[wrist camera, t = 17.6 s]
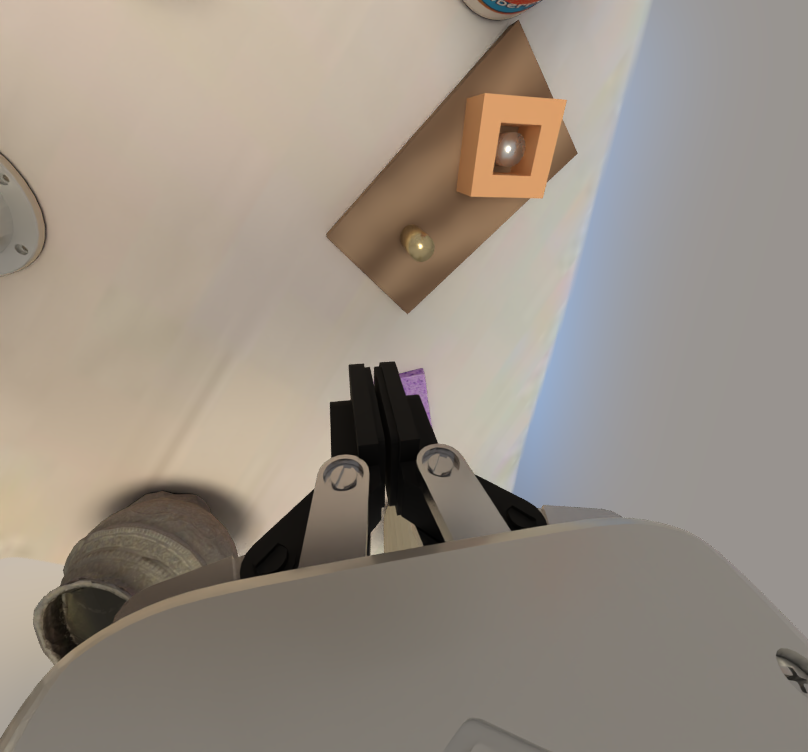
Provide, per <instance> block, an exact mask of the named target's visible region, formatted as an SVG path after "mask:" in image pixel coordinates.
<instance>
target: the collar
mask: <svg viewBox="0 0 808 752" xmlns="http://www.w3.org/2000/svg"><path fill="white" fill-rule="evenodd" d="M566 101H567V100H562V99H550V98H538V97H526V96H514V95H502V94H490V93H484V94H480V95H477V96H473V97H470V98H467V101H466V110H465V119H464V127H463V136H462V145H461V154H460V162H459V171H458V180H457V189H456V191H457V192H460V193H462V194H465V195H468V196H470V197H507V198H543V195H544V191H545V187H546V183H547V179H548V175H549V171H550V167H551V163H552V158H553V154H554V150H555V146H556V142H557V138H558V134H559V130H560V126H561V122H562V118H563V114H564V110H565V106H566ZM500 126H514V127H519V129H518V133H520V134H521V135H522V136H523V138H524V140H525V153H524V155H523V157H522V159H521V160H520V162H519V163H518V164H516V165H515V166H512V167H511V171H510V173H503V172H493V168H494V162H495V156H496V150H497V144H498V138H499V132H500Z"/></svg>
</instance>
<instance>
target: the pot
mask: <svg viewBox="0 0 808 752" xmlns="http://www.w3.org/2000/svg"><path fill="white" fill-rule="evenodd" d="M229 556H233V558H234V559H235V558H238V555H237V550H236V547H235V544H234V542H233V540H232V538H231V537H230V535H229V533H228V531H227V530H226V528H225V527H224V526H223V525H222V524H221V523H220V522H219V521H218V520H217V519H216V518H215V517H214V516H213V515H212V514H211V513H210V508H209V506H208V505H207V503H206V502H205V501H204V500H202V499H201V498H200V497H199V496H198V495H192V494H172V493H169V492H165V491H160V492H156V493H151V494H146V495H144V496H143V497H141V498H140V499H139V500H137V501H136V502H134V503H133V504H131V505H130V506H129V507H127V508H125V509H123V510H121V511H119V512H117V513H115V514H113V515H111V516H110V517H108V518H107V519H105V520H104V521H103V522H101V523H100V524H99V525H98V526H97V527H95V528H94V529H93V530H92V531H91V532H90V533H89V534H88V535H87V536H86V537H85V538H83V539H81V540H80V541H79V542H78V543H77V544H76V545H75V546H74V547H73V549H72V551H71V553H70V554H69V556H68V558H67V560H66V563H65V566H64V569H63V571H64V577H63V579H62V581H61V585H60V586H59V587H58V588H56V589H54V590H52V591H50V592H49V593H48V594H47V595H46V596H44V597H43V599H42V600H41V601H40V602H39V603H38V605H37V607H36V608H35V610H34V618H33V625H34V629H35V632H36V635H37V638H38V641H39V644H40V646H41V648H42V650H43V652H44V653H45V654H46V656H47V657H48V658H49V659H50V660H51V661H52V663H53V664H54V665H55V664H57V663H58V662H59V661H60V660H61V659H62V658H63V657H64V656H65V655H67V654H68V653H69V652H70V651H72V650H73V649H74V648H76V647H77V646H78V645H80V644H81V643H83V642H84V641H86V640H87V639H89V638H90V637H92V636H93V635H95V634H96V633H98V632H99V631H101V630H103V629H104V628H106V627H108V626H110V625H111V624H112V623H113V620H114V618H115V615H116V614H117V613H118V611H119V610H120V609H121V607H122V606H123V605H124V603H125V602H126V601H128V600H129V599H130V598H131V597H132V596H133V595H135V594H136V593H138V592H139V591H141V590H143V589H145V588H147V587H149V586H152V585H154V584H157V583H160V582H162V581H165V580H168V579H171V578H173V577H176V576H179V575H181V574H184V573H187V572H189V571H192V570H195V569H197V568H200V567H203V566H205V565H208V564H211V563H213V562H216V561H219V560H221V559H224V558H227V557H229Z"/></svg>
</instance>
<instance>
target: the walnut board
mask: <svg viewBox="0 0 808 752" xmlns="http://www.w3.org/2000/svg"><path fill="white" fill-rule="evenodd" d="M484 93H490V94H502V95H514V96H526V97H538V98H550V99H553V97H552V94H551V92H550V90H549V88H548V85H547V83H546V81H545V78H544V76H543V74H542V72H541V69H540V67H539V65H538V63H537V60H536V58H535V56H534V54H533V51H532V49H531V47H530V45H529V42H528V40H527V38H526V35H525V33H524V31H523V29H522V26H521V24H520V22H519V20H518V21H516V22H515V23H513V24H511V25H510V26H509V27H508V28H507V29H506V30H505V32H504V33H503V34H502V35H501V36H500V37H499V38H498V40H497V41H496V42H495V43H494V44H493V45H492V46H491V48H490V49H489V50H488V51H487V52H486V53H485V54H484V55H483V57H482V58H481V59H480V60H479V61H478V62H477V63H476V65H475V66H474V67H473V68H472V69H471V70H470V71H469V73H468V74H467V75H466V76H465V77H464V78H463V79H462V81H461V82H460V83H459V84H458V85H457V86H456V87H455V88H454V90H453V91H452V92H451V93H450V94H449V95H448V96H447V98H446V99H445V100H444V101H443V102H442V103H441V104H440V106H439V107H438V108H437V109H436V110H435V111H434V112H433V113H432V115H431V116H430V117H429V118H428V119H427V120H426V121H425V123H424V124H423V125H422V126H421V127H420V128H419V129H418V131H417V132H416V133H415V134H414V135H413V136H412V137H411V139H410V140H409V141H408V142H407V143H406V144H405V145H404V146H403V148H402V149H401V150H400V151H399V152H398V153H397V154H396V156H395V157H394V158H393V159H392V160H391V161H390V162H389V164H388V165H387V166H386V167H385V168H384V169H383V170H382V171H381V173H380V174H379V175H378V176H377V177H376V178H375V179H374V181H373V182H372V183H371V184H370V185H369V186H368V187H367V189H366V190H365V191H364V192H363V193H362V194H361V195H360V196H359V198H358V199H357V200H356V201H355V202H354V203H353V204H352V206H351V207H350V208H349V209H348V210H347V211H346V212H345V214H344V215H343V216H342V217H341V218H340V219H339V220H338V222H337V223H336V224H335V225H334V226H333V227H332V228H331V229H330V231H329V232H328V233H327V238H328V239H329V240H330V241H331V242H332V243H333V244H334V245H335V246H336V247H337V248H339V249H340V250H341V251H342V252H343V253H344V254H345V255H346V256H347V257H348V258H349V259H350V260H351V261H352V262H353V263H354V264H355V265H356V266H357V267H359V268H360V269H361V270H362V271H363V272H364V273H365V274H366V275H367V276H368V277H369V278H370V279H371V280H372V281H373V282H374V283H375V284H376V285H377V286H378V287H380V288H381V289H382V290H383V291H384V292H385V293H386V294H387V295H388V296H389V297H390V298H391V299H392V300H393V301H394V302H395V303H396V304H397V305H398V306H399V307H401V308H402V309H403V310H404V311H405V312H406V313H407V314H408V313H409V312H410V311H411V310H412V309H413V308H415V307H416V306H417V305H418V304H419V303H420V302H421V301H422V300H423V299H424V298H425V297H426V296H427V295H428V294H429V293H430V292H431V291H433V290H434V289H435V288H436V287H437V286H438V285H439V284H440V283H441V282H442V281H443V280H444V279H445V278H446V277H447V276H448V275H449V274H451V273H452V272H453V271H454V270H455V269H456V268H457V267H458V266H459V265H460V264H461V263H462V262H463V261H464V260H465V259H466V258H467V257H469V256H470V255H471V254H472V253H473V252H474V251H475V250H476V249H477V248H478V247H479V246H480V245H481V244H482V243H483V242H484V241H485V240H486V239H488V238H489V237H490V236H491V235H492V234H493V233H494V232H495V231H496V230H497V229H498V228H499V227H500V226H501V225H502V224H503V223H504V222H506V221H507V220H508V219H509V218H510V217H511V216H512V215H513V214H514V213H515V212H516V211H517V210H518V209H519V208H520V207H521V206H522V205H524V204H525V203H526V202H527V201H528V200H529V199H530V198H507V197H470V196H468V195H465V194H462V193H460V192H457V191H456V189H457V180H458V171H459V162H460V154H461V145H462V136H463V127H464V119H465V110H466V101H467V98H470V97H473V96H477V95H480V94H484ZM518 129H519V127H514V126H500V132H499V133H504V132H517V133H518ZM576 154H577V151H576V149H575V146H574V144H573V142H572V140H571V137H570V135H569V133H568V131H567V128H566V126H565V124H564V121H563V119H562V122H561V126H560V130H559V134H558V138H557V142H556V146H555V150H554V154H553V158H552V163H551V167H550V171H549V175H548V179H547V182H548V181H549V180H550V179H551V178H552V177H553V176H554V175H555V174H556V173H557V172H558V171H559V170H561V169H562V168H563V167H564V166H565V165H566V164H567V163H568V162H569V161H570V160H571V159H572V158H573V157H574V156H575V155H576ZM510 171H511V167H505V166H498V165H494V168H493V172H503V173H510ZM408 225H416V226H418V227H419V228H420V229H422V230H423V231H424V232H425V233H426V234H427V235H428V236H429V237H430V238H431V239H432V240H433V242H434V246H435V249H434V253H433V255H432V256H431V257H430V258H429V259H428V260H426V261H424V262H418V261H415V260H414V259H413V258H412V257H411V256H410V254H409V253H408V252H407V251H406V249H405V248H404V247H403V245H402V244H401V241H400V234H401V231H402V230H403V229H404V228H405V227H406V226H408Z"/></svg>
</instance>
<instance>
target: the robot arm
mask: <svg viewBox="0 0 808 752" xmlns="http://www.w3.org/2000/svg"><path fill="white" fill-rule="evenodd" d="M44 240H45V225H44V221H43V217H42V212H41V210H40V208H39V205H38V203H37V201H36V198H35V196H34V195H33V193H32V191H31V190H30V188H29V187H28V185H27V184H26V182H25V181H24V179H23V178H22V177H21V176H20V174H19V173H18V172H17V171H16V170H15V168H14V167H13V166H12V165H11V164H10V162H9V161H7V160H6V159H5V158H4V157H3V156H2V155H1V154H0V277H1V276H4V275H8V274H11V273H14V272H17V271H19V270H21V269H23V268H25V267H27V266H28V265H29V264H31V263H32V262H33V261H35V259H36V258H37V257H38V255H39V254H40V252H41V250H42V247H43V244H44ZM349 379H350V396H351V400H348V401H337V402H330V423H331V458H330V459H329V460H328V461H326V462H325V463H324V464H323V465H322V466H321V467H320V469H319V472H318V474H317V479H316V484H315V489H314V490H312V491H311V492H310V493H309V494H308V495H307V496H306V497H305V498H304V499H303V500H302V501H301V502H299V503H298V504H297V505H296V506H295V507H294V508H293V509H292V510H291V511H290V512H289V513H288V514H286V515H285V516H284V517H283V518H282V519H281V520H280V521H279V522H278V523H277V524H276V525H275V526H274V527H272V528H271V529H270V530H269V531H268V532H267V533H266V534H265V535H264V536H263V537H262V538H261V539H259V540H258V541H257V542H256V543H255V544H254V545H253V546H252V547H251V548H250V550H249V551H248V552H247V553H246V555H243V556H240V557H238V558H235V559H234V558H233V556H229V557H227V558H224V559H221V560H219V561H216V562H213V563H211V564H208V565H205V566H203V567H200V568H197V569H195V570H192V571H189V572H187V573H184V574H181V575H179V576H176V577H173V578H171V579H168V580H165V581H162V582H160V583H157V584H154V585H152V586H149V587H147V588H145V589H143V590H141V591H139V592H138V593H136V594H135V595H133V596H132V597H131V598H130V599H129V600H128V601H126V602H125V603H124V605H123V606H122V607H121V609H120V610H119V611H118V613H117V614H116V615H115V618H114V620H113V623H112V624H111V625H110V626H108V627H106V628H104V629H103V630H101V631H99V632H98V633H96V634H95V635H93V636H92V637H90V638H89V639H87V640H86V641H84V642H83V643H81V644H80V645H78V646H77V647H76V648H74V649H73V650H72V651H70V652H69V653H68V654H67V655H65V656H64V657H63V658H62V659H61V660H60V661H59V662H58V663H57V664H55V665H54V666H53V667H52V669H51V670H50V671H49V672H48V673H47V674H46V675H45V676H44V677H43V679H42V680H41V681H40V682H39V683H38V684H37V686H36V687H35V688H34V690H33V691H32V692H31V694H30V695H29V696H28V698H27V699H26V700H25V702H24V703H23V704H22V706H21V707H20V709H19V710H18V712H17V713H16V715H15V716H14V718H13V719H12V721H11V722H10V724H9V725H8V727H7V728H6V730H5V732H4V733H3V735H2V737H1V738H0V752H808V639H807V638H806V637H805V636H804V635H803V634H802V633H801V632H800V631H799V630H798V629H797V628H796V627H795V626H794V625H793V623H792V622H790V620H789V619H788V618H787V617H786V616H785V615H784V614H783V613H782V612H781V611H780V610H779V609H778V608H777V607H776V606H775V605H774V604H773V603H772V602H771V601H770V600H769V599H768V598H767V597H766V596H765V595H764V594H763V593H762V592H761V591H760V590H759V589H758V588H757V587H756V586H755V585H754V584H753V583H752V582H751V581H750V580H749V579H748V578H747V577H746V576H745V575H744V574H742V573H741V572H740V571H739V570H738V569H737V568H736V567H735V566H734V565H733V564H731V562H730V561H728V560H727V559H726V558H725V557H724V556H723V555H722V554H720V553H719V552H718V551H717V550H716V549H714V548H713V547H712V546H711V545H709V544H708V543H706V542H705V541H703V540H702V539H701V538H699V537H697V536H695V535H694V534H692V533H690V532H688V531H685V530H683V529H680V528H677V527H673V526H670V525H667V524H663V523H659V522H654V521H649V520H644V519H635V518H623V517H621V516H620V515H618V514H616V513H614V512H612V511H609V510H605V509H594V508H580V507H565V506H549V505H543V506H542V508H536V507H535V506H534V505H532V504H531V503H529V502H528V501H526V500H524V499H522V498H520V497H518V496H516V495H514V494H512V493H510V492H508V491H506V490H504V489H502V488H500V487H498V486H497V485H495V484H493V483H491V482H489V481H487V480H485V479H483V478H481V477H479V476H477V475H475V474H474V473H473V471H472V470H471V468H470V467H469V465H468V464H467V462H466V461H465V459H464V457H463V456H462V455H461V454H460V453H459V451H457V450H456V449H454V448H453V447H451V446H448V445H445V444H438V442H437V440H436V437H435V434H434V432H433V429H432V426H431V424H430V421H429V419H428V416H427V413H426V411H425V408H424V405H423V403H422V400H421V398H420V396H419V395H418V394H416V395H406V394H405V391H404V388H403V385H402V382H401V379H400V376H399V373H398V369H397V366H396V363H395V362H380V364H379V367H374V384H373V379H372V375H371V370H370V367H364V364H351V365H349ZM385 486H386V492H387V497H388V503H389V506H395V508H396V513H397V516H398V515H401V517H403V518H405V519H406V520H408V521H409V522H411V528H412V532H413V534H414V537H415V539H416V542H417V544H418V547H417V548H411V549H405V550H399V551H394V552H388V553H382V554H377V555H371V556H370V550H371V532H372V530H373V529H374V528H375V527H376V525H377V524H378V523H379V522H380V520H381V508H383V507H385Z"/></svg>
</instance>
